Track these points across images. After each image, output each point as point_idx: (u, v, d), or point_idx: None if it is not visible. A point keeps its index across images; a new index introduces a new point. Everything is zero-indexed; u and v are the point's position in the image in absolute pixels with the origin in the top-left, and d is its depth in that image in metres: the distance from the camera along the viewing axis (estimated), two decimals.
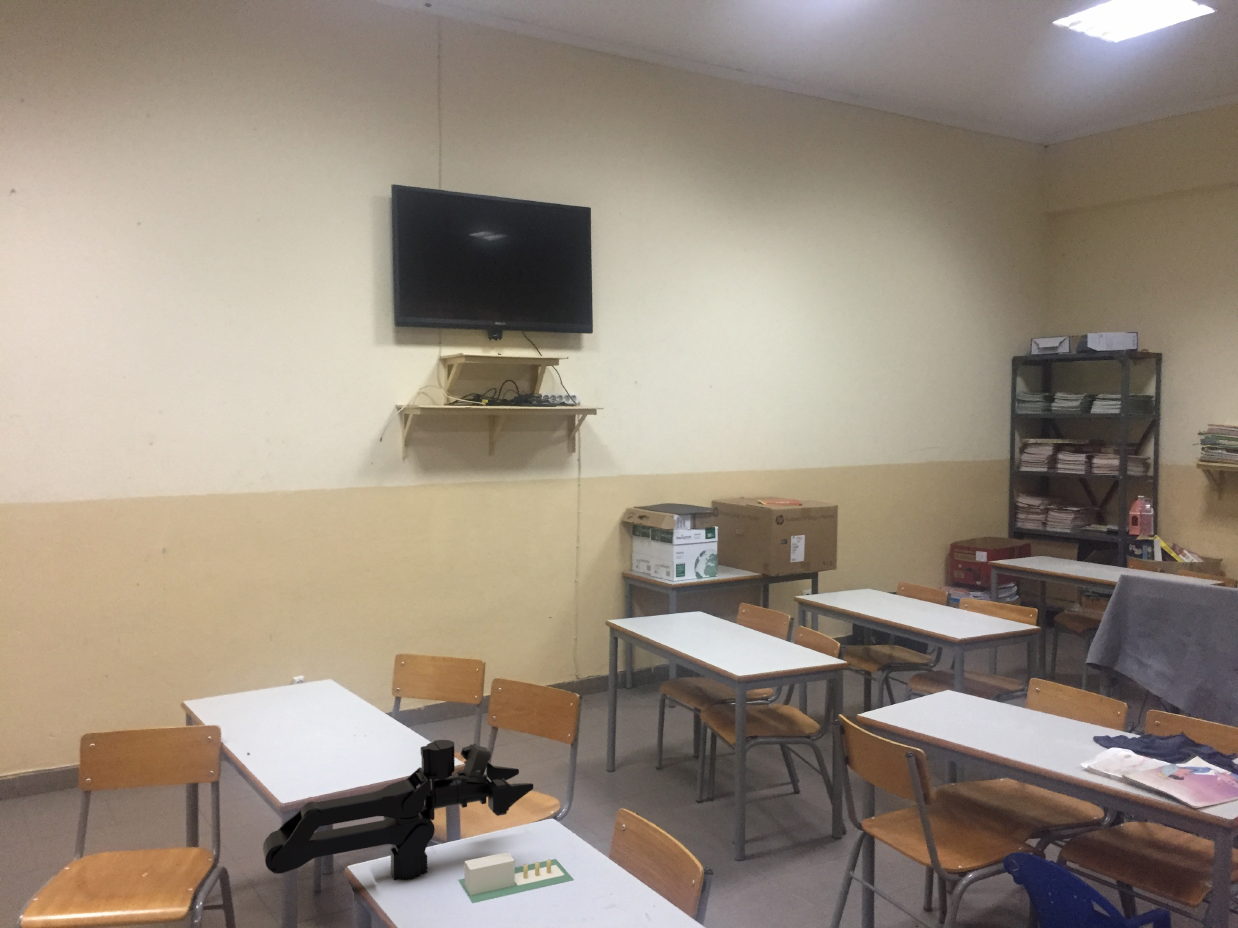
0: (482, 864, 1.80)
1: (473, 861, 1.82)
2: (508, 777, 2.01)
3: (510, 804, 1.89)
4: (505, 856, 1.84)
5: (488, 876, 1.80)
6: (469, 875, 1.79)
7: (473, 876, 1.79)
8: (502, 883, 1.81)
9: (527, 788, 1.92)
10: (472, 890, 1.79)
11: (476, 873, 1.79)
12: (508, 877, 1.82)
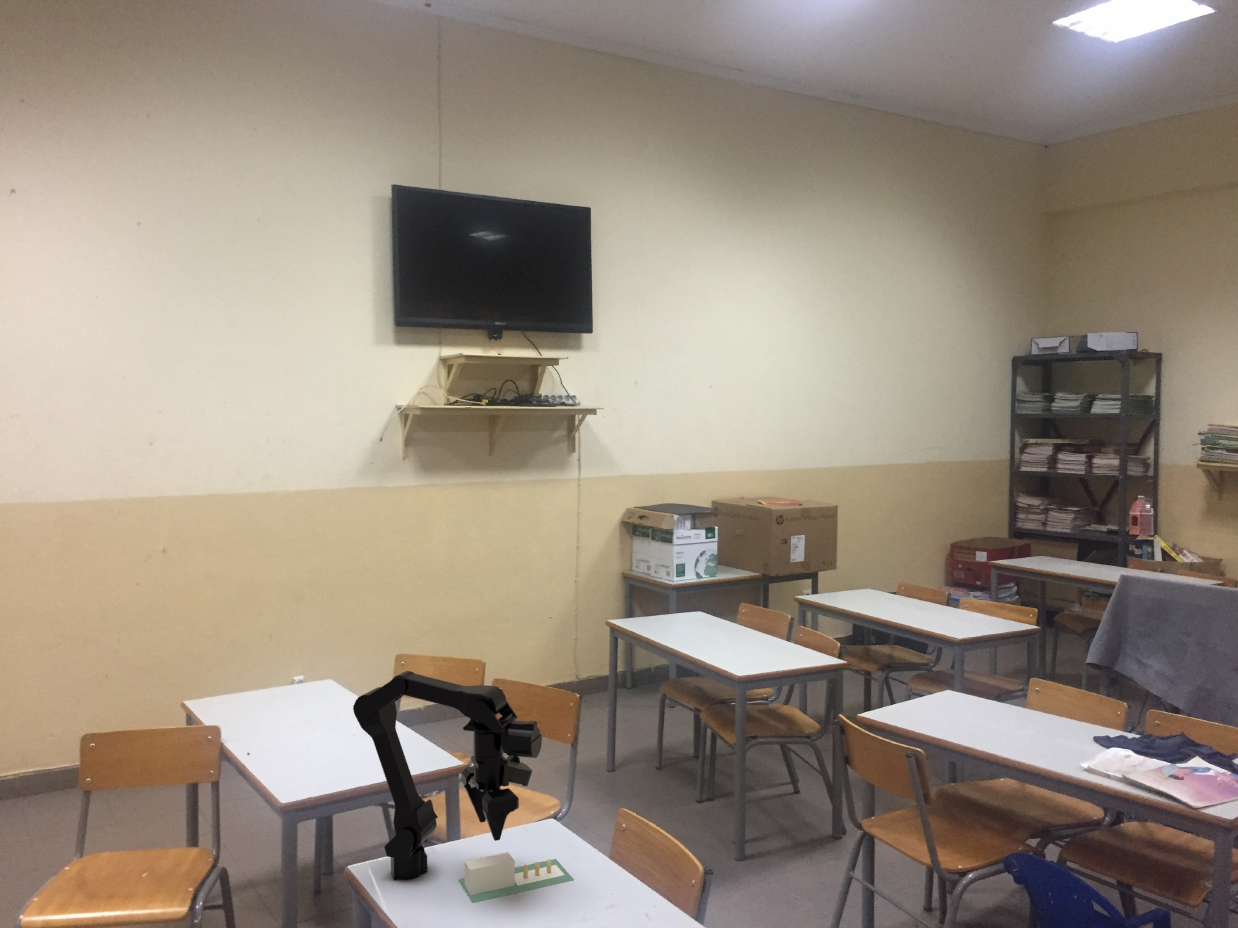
0: (482, 864, 1.80)
1: (473, 861, 1.82)
2: (477, 811, 1.86)
3: (488, 816, 1.75)
4: (505, 856, 1.84)
5: (488, 876, 1.80)
6: (469, 875, 1.79)
7: (473, 876, 1.79)
8: (502, 883, 1.81)
9: (497, 833, 1.77)
10: (472, 890, 1.79)
11: (476, 873, 1.79)
12: (508, 877, 1.82)
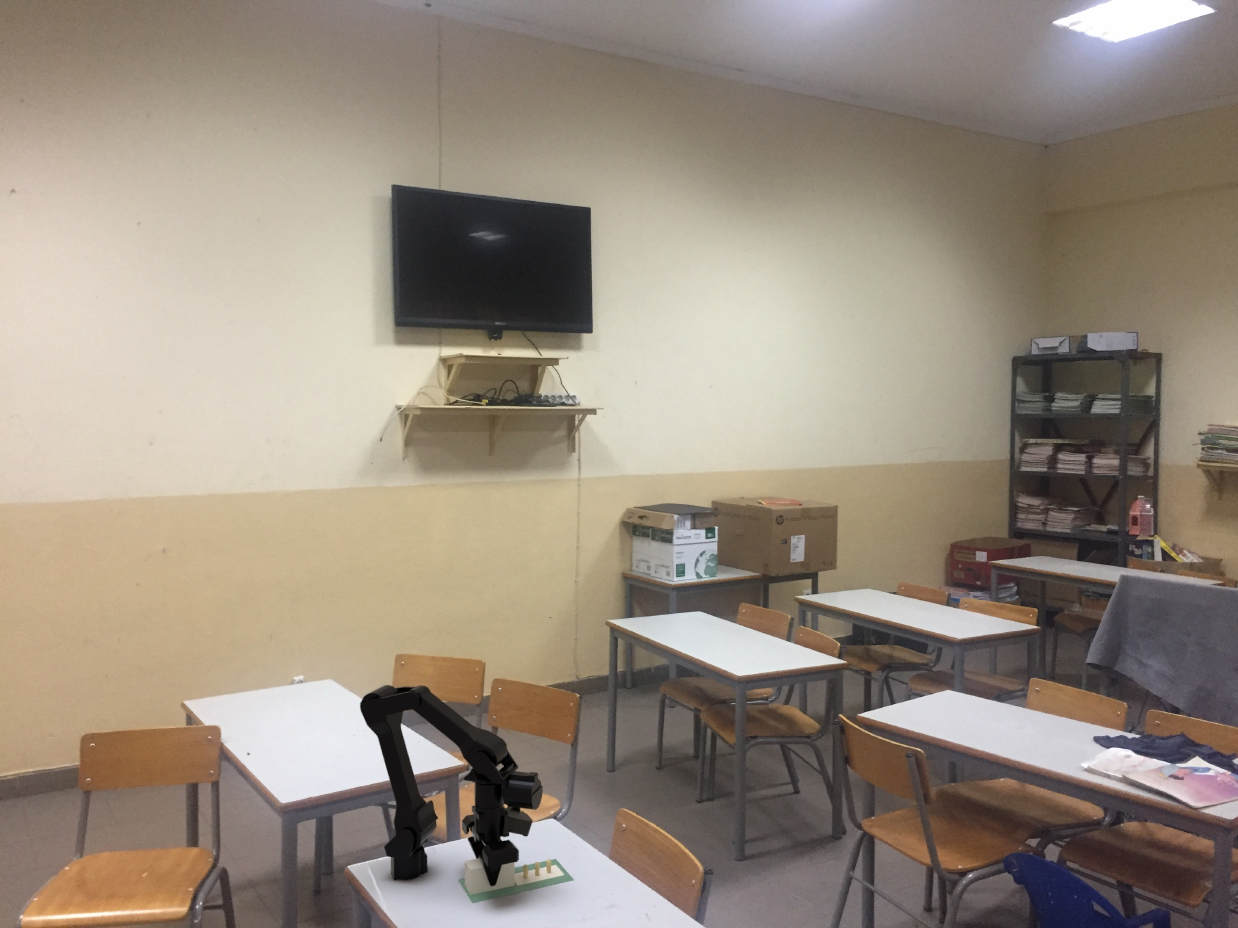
0: None
1: (473, 861, 1.82)
2: None
3: (484, 863, 1.77)
4: None
5: None
6: (469, 875, 1.79)
7: (473, 876, 1.79)
8: (502, 883, 1.81)
9: (493, 878, 1.80)
10: (472, 890, 1.79)
11: (476, 873, 1.79)
12: (508, 877, 1.82)
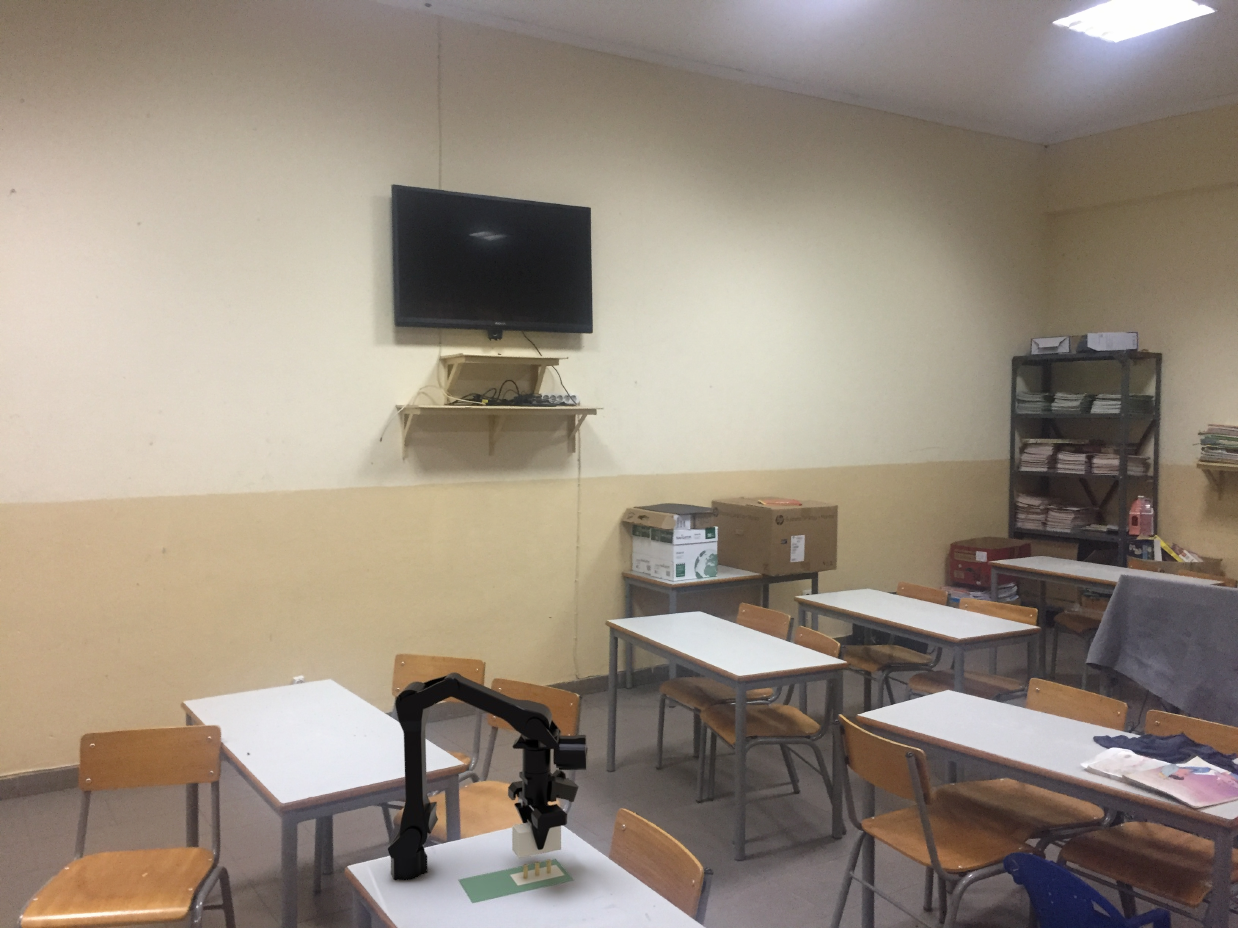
0: (529, 828, 1.84)
1: (521, 826, 1.86)
2: None
3: (533, 827, 1.81)
4: None
5: None
6: (517, 839, 1.83)
7: (521, 839, 1.83)
8: (549, 847, 1.85)
9: (541, 842, 1.84)
10: (520, 853, 1.83)
11: (525, 837, 1.83)
12: (555, 841, 1.86)
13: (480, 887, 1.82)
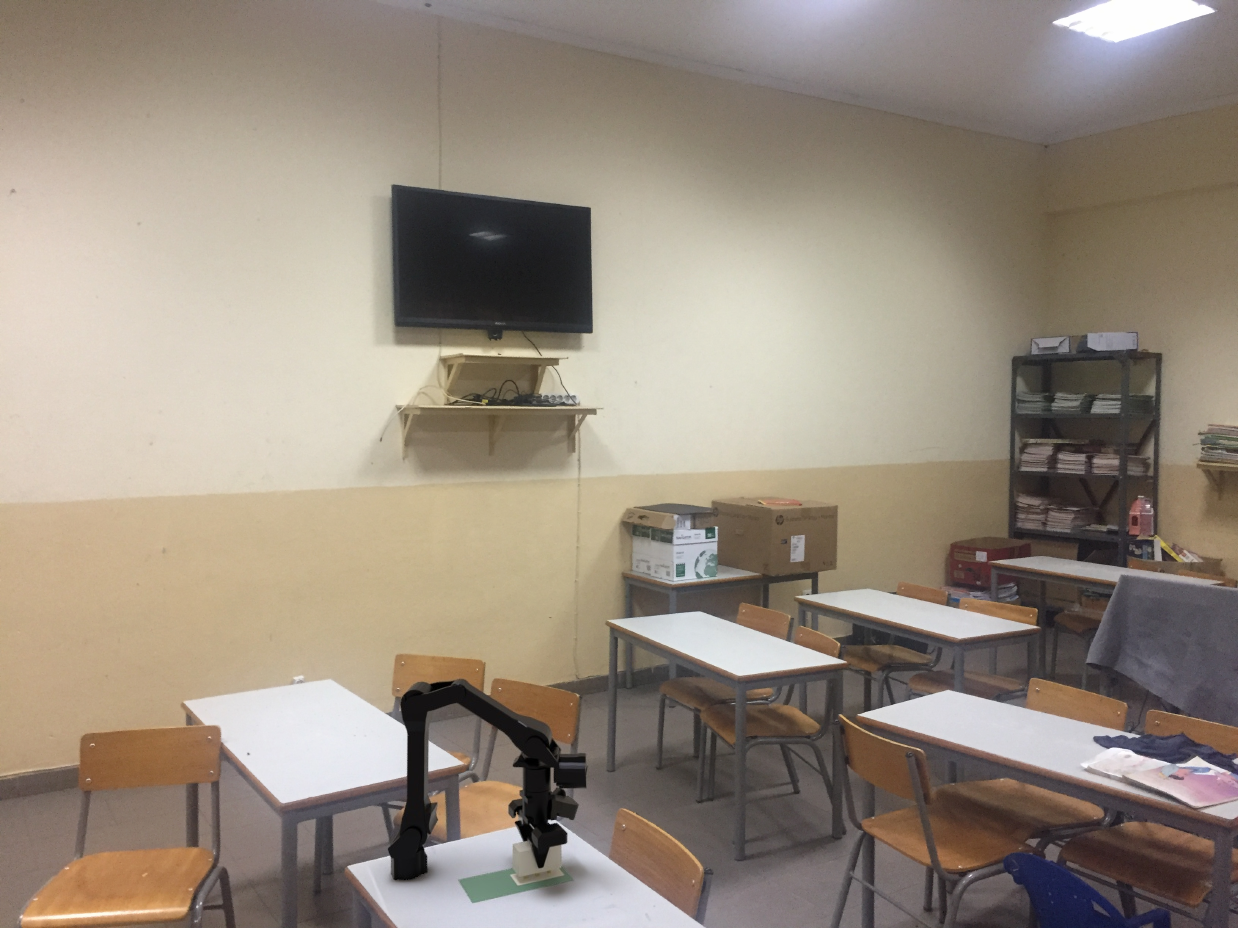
0: (530, 847, 1.85)
1: (521, 844, 1.86)
2: None
3: (533, 845, 1.82)
4: None
5: None
6: (517, 857, 1.83)
7: (522, 858, 1.83)
8: (549, 865, 1.86)
9: (541, 861, 1.84)
10: (521, 872, 1.83)
11: (525, 855, 1.83)
12: (555, 859, 1.86)
13: (480, 887, 1.82)
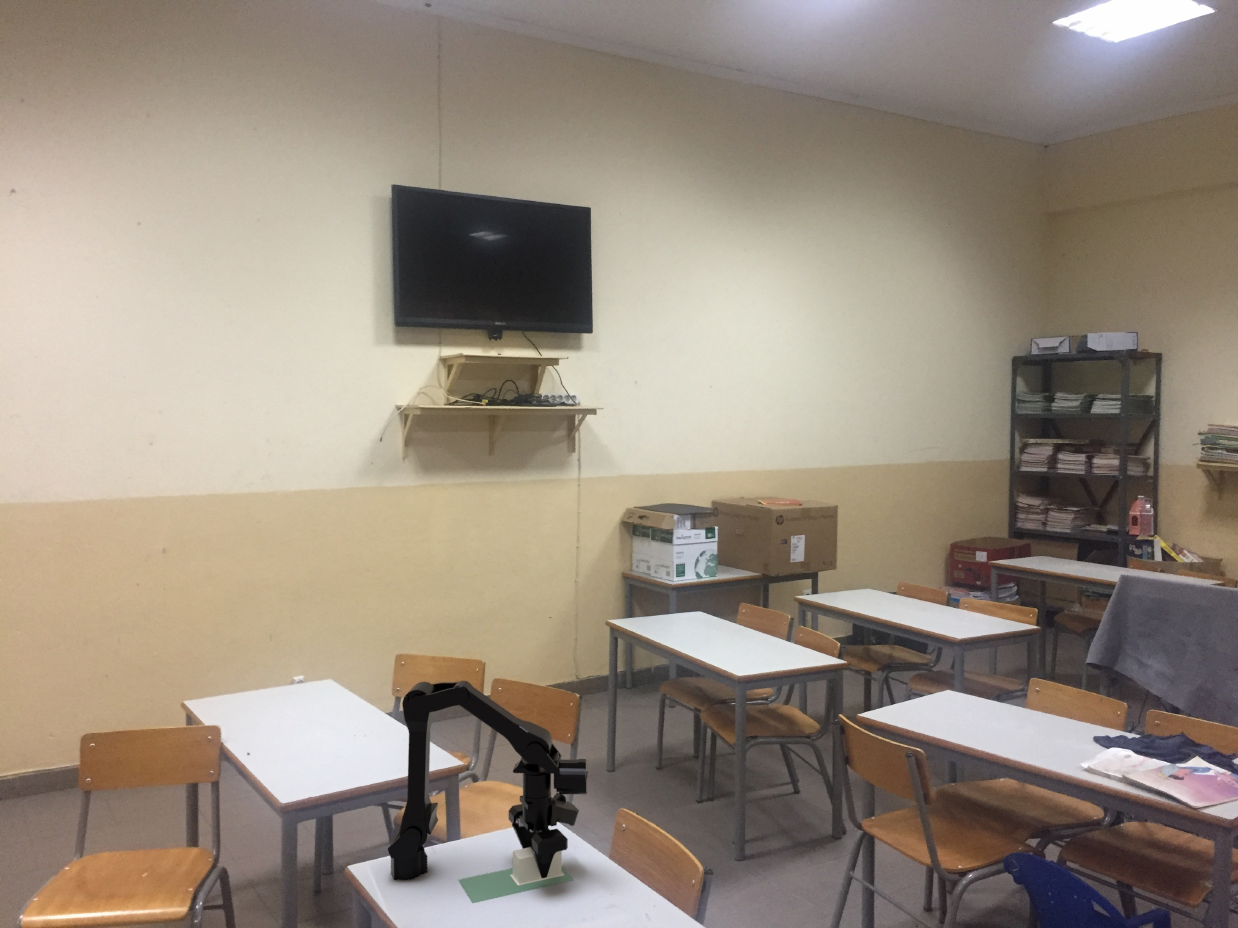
0: (530, 854, 1.85)
1: (521, 851, 1.86)
2: None
3: (536, 855, 1.80)
4: None
5: None
6: (517, 865, 1.84)
7: (522, 865, 1.83)
8: (549, 872, 1.86)
9: (545, 870, 1.82)
10: (521, 879, 1.83)
11: (525, 862, 1.83)
12: (555, 866, 1.86)
13: (480, 887, 1.82)
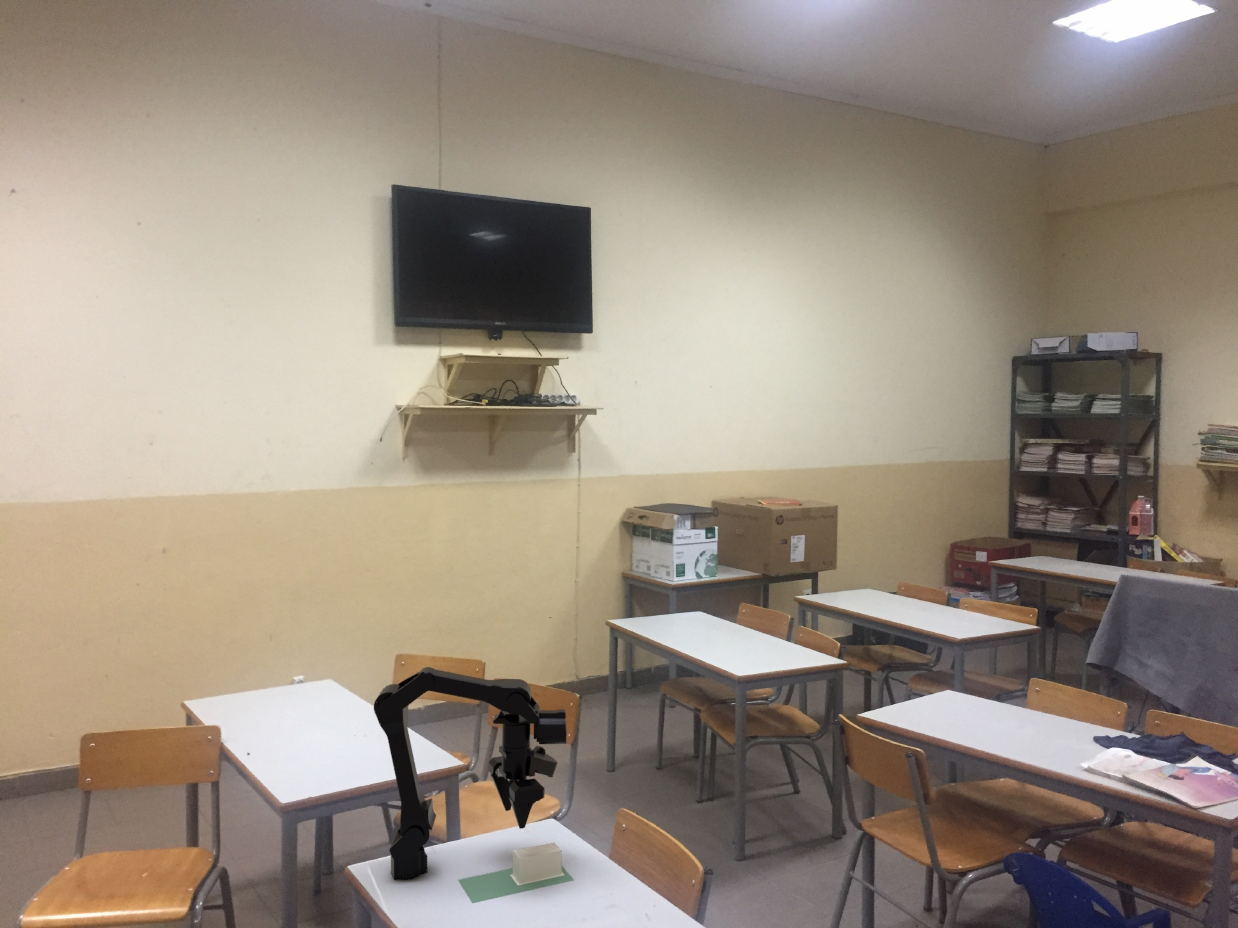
0: (530, 854, 1.85)
1: (521, 851, 1.86)
2: (503, 799, 1.92)
3: (514, 805, 1.81)
4: (552, 846, 1.88)
5: (537, 865, 1.84)
6: (517, 865, 1.84)
7: (522, 865, 1.83)
8: (549, 872, 1.86)
9: (523, 821, 1.84)
10: (521, 879, 1.83)
11: (525, 862, 1.83)
12: (555, 866, 1.86)
13: (480, 887, 1.82)
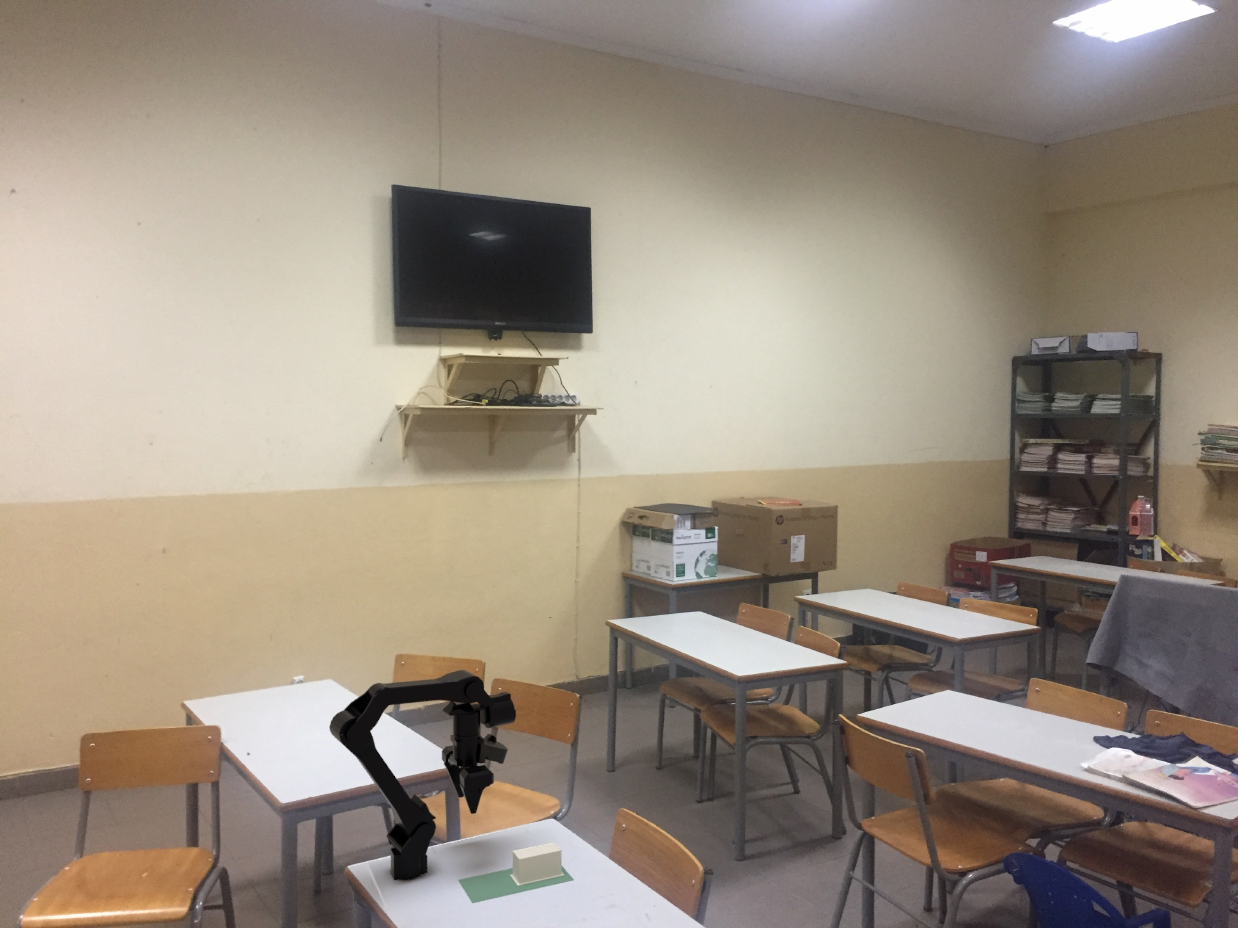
0: (530, 854, 1.85)
1: (521, 851, 1.86)
2: (456, 787, 1.98)
3: (465, 791, 1.87)
4: (552, 846, 1.88)
5: (537, 865, 1.84)
6: (517, 865, 1.84)
7: (522, 865, 1.83)
8: (549, 872, 1.86)
9: (474, 806, 1.90)
10: (521, 879, 1.83)
11: (525, 862, 1.83)
12: (555, 866, 1.86)
13: (480, 887, 1.82)
